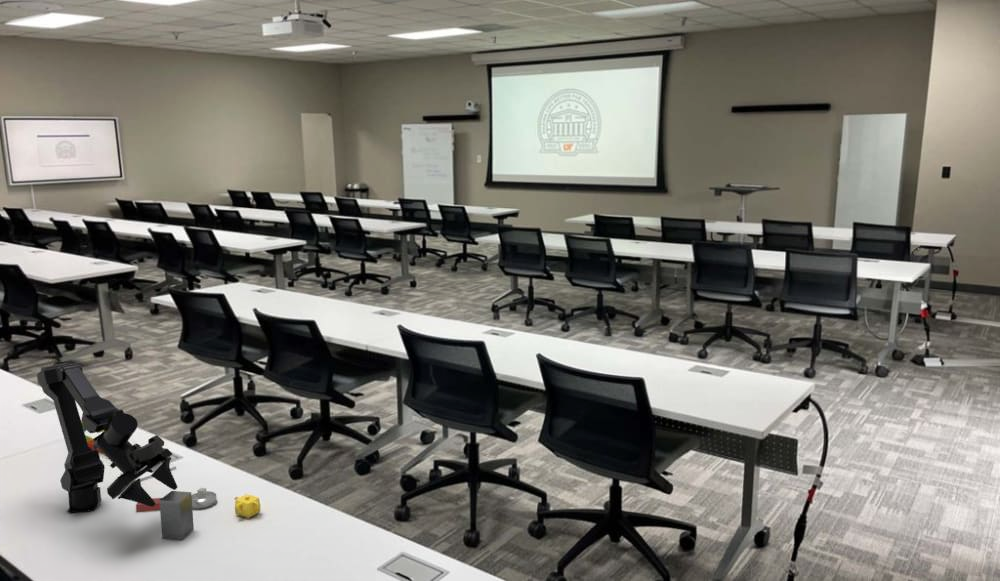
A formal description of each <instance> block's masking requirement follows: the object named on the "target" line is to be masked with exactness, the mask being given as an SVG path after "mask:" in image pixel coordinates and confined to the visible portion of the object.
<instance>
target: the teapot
mask: <svg viewBox="0 0 1000 581" xmlns="http://www.w3.org/2000/svg"><path fill="white" fill-rule="evenodd" d="M234 501H235V502H234V512H235V514H236V515H238V517H244V518H245V519H247V520H249V519H251V518H252V517H253V516H256V515H258V514H259V513H260V512H261V503H260V497H258V496H255V495H252V494H248V493H247V494H245V495H242V496H241V497H238V496H236V497H234Z"/></svg>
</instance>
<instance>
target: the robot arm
mask: <svg viewBox="0 0 1000 581" xmlns="http://www.w3.org/2000/svg"><path fill="white" fill-rule="evenodd" d="M82 367H83V366H82V365H81V364H80V363H75V362H74V363H69V362H63V363H59V364H53V365H48V366H42V367H41V369H40V370H39V372H37V374H36V378H37V379H36V380H37V382H38V384H39V385H40V386H41V390H42V392H43V394H45V395H46V396H47V397H48V398H49V399H51V400H52V401H53V404H54V408H55V410H56V414H57V418H58V422H59V425H60V429H61V433H62V435H63V438H64V439H63V440H64V442H65V446H66V449H67V456H66V458H65V462H64V472H63V474H62V475H61V478H60V484H61V488H62V489H63V490H64V491H66V492H67V496H68V505H69V508H68V509H67V511H66V512H67V513H68V514H71V513H83V512H84V513H85V512H93V511H95V510H96V509H97V507H99V505H100V503H101V502H102V494H101V486H99V485H98V484H99V483H103V482H104V477H105V464H104V462H103V461H102V460H101V457H100V453H99V452H98V451H97V450H96V449H98V448H99V449H100V450H101V451H102V452H103V453H104V454H105V455H106V458H108V460H109V461H110V462H111V463H110V465H109V466H110V468H112V469H115V468H117V469H118V470H119V471H121V473H123V474H122V475H121V474H120V475H119V476H118V477H117V478H115V479H114V480H113V482H112V483H110V485H109V486H107V488H106V492H107V495H108V496H109V497H110V498H111V499H112V500H114V499H116V498H117V499H118V500H121V499H123V500H128V501H131V502H135V503H141V504H145V505H148V506H151V507H153V506H154V505H155V504H156V503H155V502H154V500H153V499H152V497H151V496H150V494H149V493H148V492H147V490H146V489H144V487H143V486H142V483H141V482H142V481H141V482H140V478H139V479H137V478H138V477H140V476H141V475H143V474H144V473H146V472H150V473H152V472H154V473H153V474H152V475H151V476H152V477H153V478H154V479H155V480H157V481H159V482H160V483H161V484H163V485H165V486H166V487H168V488H169V489H171V490H172V491H177V489H178V484H177V482H176V480H175V477H174V476H173V473H172V471H171V470H170V467H169V465H170V464H171V461H172V455H173V453H172V452H171V451H170V449H168V448H165V447H164V446H165V441H164V440H163V438H161V437H160V436H159V435H154V436H152V437H150V438H148V441H147V442H148V443H146V444H145V445H143V446H141V444H139V443H134V444H132V443H131V442H130V441H129V440H130V439H131V437H132V436H133V434H134V433H135V432H136V430H137V428H138V420H137V418H135V417H134V415H132V414H129V413H125V412H124V409H123V408H122V409H119V408H117V407H116V406H115V405H114V404H113V402H111V401H110V400H109V399H106V398H103V397H101V396H100V395H99V393H98V392H97V391H96V389H95V387H94V386H93V385H92V383H91V382H90V380H89V379H88V377H87V376H86V374H85V373H84V372H83V368H82ZM78 407H79V408H80V410H81V411H82V414H81V416H80V412H79V409H78ZM81 420H82V422H81ZM82 423H83V426H82ZM83 427H84V428H85V430H86V432H88V433H89V434H95V433H96V434H97V432H99V431H103V430H104V432H103V433H102V432H99V433H100V434H98V435H97V436H95V437H93V441H94V444H93V447H94V449H95V450H93V449H91V448H90V447H89V446H88V443H87V440H86V436H85V435H86V433H85V432H84V429H83ZM105 455H104V456H105ZM137 473H138V474H137ZM136 479H137V480H136Z"/></svg>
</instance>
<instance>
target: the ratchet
mask: <svg viewBox="0 0 1000 581" xmlns="http://www.w3.org/2000/svg"><path fill="white" fill-rule="evenodd" d="M196 490H197V492H195V493H193V494H191V495H192V510H193V511H202V510H203V511H204V510H207V509H211V508H213V507H215V505H216V504H217V501H218V500H217V494H216V492H214V491H209V490H207V488H205V487H200V488H198V489H196ZM151 498H152V497H151ZM162 498H163V497H154V498H152V499H153V500H154V502H155V503H156V504H155V505H154V506H153V507H151V506H148V505H145V504H141V503H138V502H136V504H135V510H136V511H135V512H136V513H141V512H142V513H143V512H155V511H156V512H157V511H160V503H159V500H160V499H162Z"/></svg>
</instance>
